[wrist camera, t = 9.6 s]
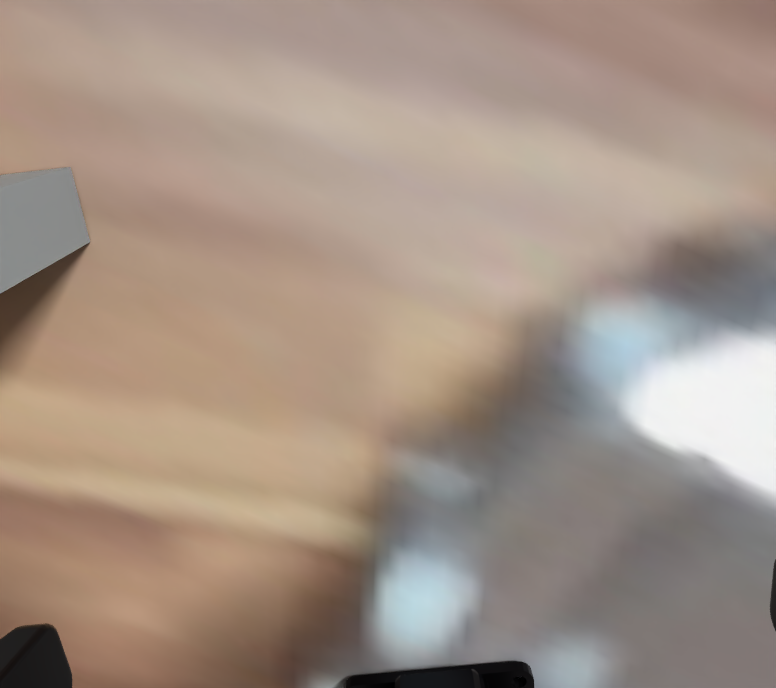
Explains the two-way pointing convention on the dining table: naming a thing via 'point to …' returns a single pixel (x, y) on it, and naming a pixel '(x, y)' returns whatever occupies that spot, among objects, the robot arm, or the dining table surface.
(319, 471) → the dining table surface
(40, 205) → the gray u-shaped block
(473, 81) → the dining table surface
